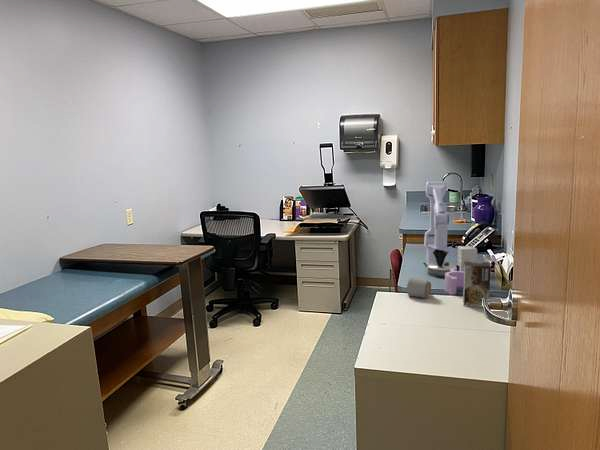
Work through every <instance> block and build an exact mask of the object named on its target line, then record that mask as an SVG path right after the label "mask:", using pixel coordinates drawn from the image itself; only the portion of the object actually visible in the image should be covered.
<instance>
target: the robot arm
mask: <svg viewBox="0 0 600 450" xmlns="http://www.w3.org/2000/svg"><path fill="white" fill-rule="evenodd" d="M447 186H448V185H447V182H446V181H445V180H444V181H426V183H425V196H426V198H428V199H429V203H430V205H429V206H430V208H429V209H430V210H429V213H430V215H429V216H430V217H429V229H428V230H427V231H425V233H424V238H423V242H424V243H423V245H424V247H425V248H426V262H427V264H429V263H436V262H437V265H438V266H442V265H443V262H446V257H447V255H448V254H450V255H451V254H455V249H454V248H452V247H448V227H449V225H450V214H449V211H447V204H446V202H444V199H443V198H444V197H445V195H446V193H447V190H448V189H447Z"/></svg>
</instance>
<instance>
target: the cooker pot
mask: <svg viewBox="0 0 600 450" xmlns="http://www.w3.org/2000/svg"><path fill="white" fill-rule="evenodd" d="M443 263H444V262H443ZM455 265H456V264H455ZM424 266H425V268H427V275H428V276H430V277H433V278H441V279H445V273H447V272H450V271H439V270H432V269H429V268H428V267H427V264H424ZM456 266H457V271H459V269H460V266H459V265H456Z"/></svg>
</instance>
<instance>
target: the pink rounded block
mask: <svg viewBox="0 0 600 450" xmlns="http://www.w3.org/2000/svg"><path fill="white" fill-rule="evenodd" d="M457 288H461V289H462V288H464V268H463V271H457V268H451V269H450V272H447V273H445V278H444V291H445V292H446V293H449V295H452V296H454V295H456V294H457Z"/></svg>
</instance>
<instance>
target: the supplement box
mask: <svg viewBox="0 0 600 450" xmlns="http://www.w3.org/2000/svg"><path fill="white" fill-rule="evenodd" d="M464 261H467V262H478V249H477V247H475V246H473V245H470V246H469V245H465V246H463V245H462V246H460V245H459V246H457V265H459V266H460V269H459V271H463V268H464Z"/></svg>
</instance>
